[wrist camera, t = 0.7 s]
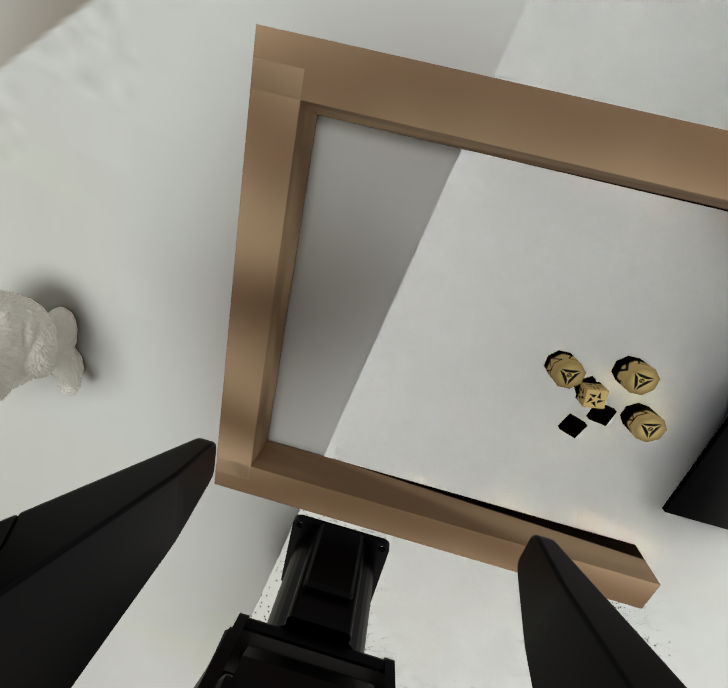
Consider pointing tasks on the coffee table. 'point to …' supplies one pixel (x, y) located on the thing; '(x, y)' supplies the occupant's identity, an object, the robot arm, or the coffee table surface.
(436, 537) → the wooden u-frame
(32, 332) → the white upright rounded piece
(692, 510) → the mat
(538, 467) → the coffee table surface
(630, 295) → the coffee table surface
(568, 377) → the dice set
